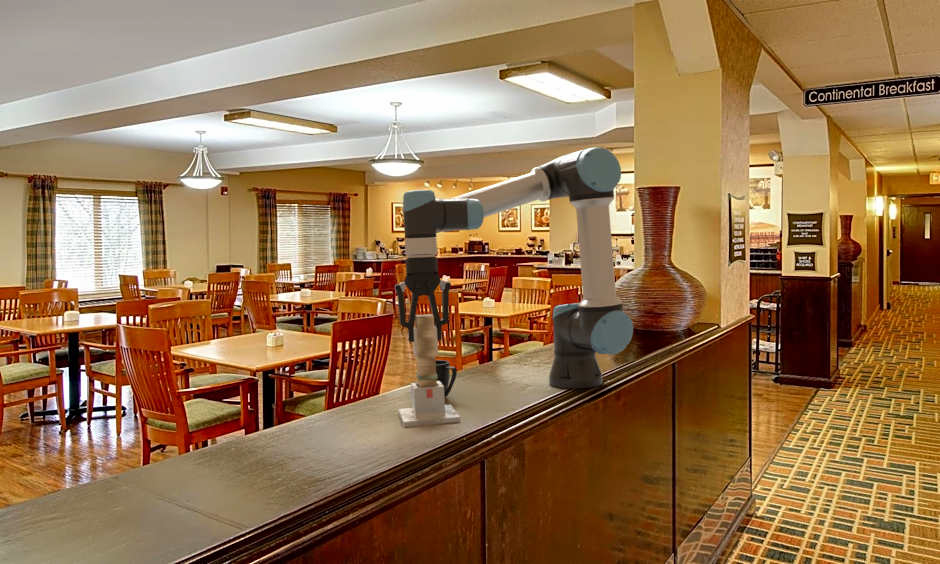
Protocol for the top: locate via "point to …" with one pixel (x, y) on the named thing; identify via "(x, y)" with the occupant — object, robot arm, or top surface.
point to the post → (426, 351)
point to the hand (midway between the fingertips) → (425, 354)
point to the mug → (445, 375)
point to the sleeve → (428, 407)
